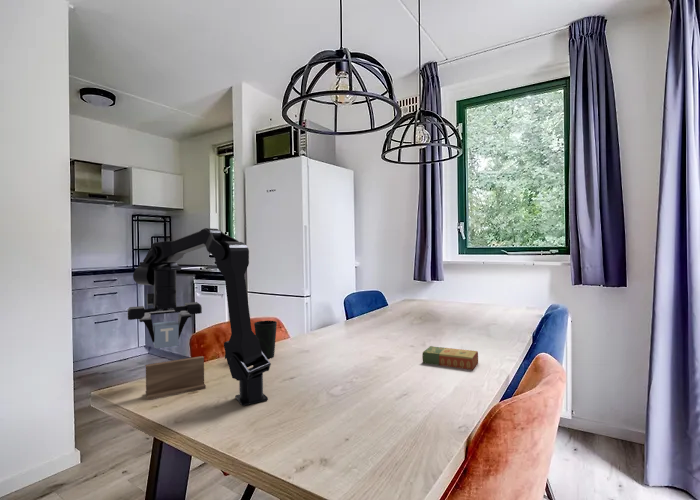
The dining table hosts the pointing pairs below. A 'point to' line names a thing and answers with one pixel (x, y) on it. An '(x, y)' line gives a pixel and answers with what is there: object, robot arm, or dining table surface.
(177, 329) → the letter cube
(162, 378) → the wooden l bracket
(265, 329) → the cup
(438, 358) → the carton
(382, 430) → the dining table surface
